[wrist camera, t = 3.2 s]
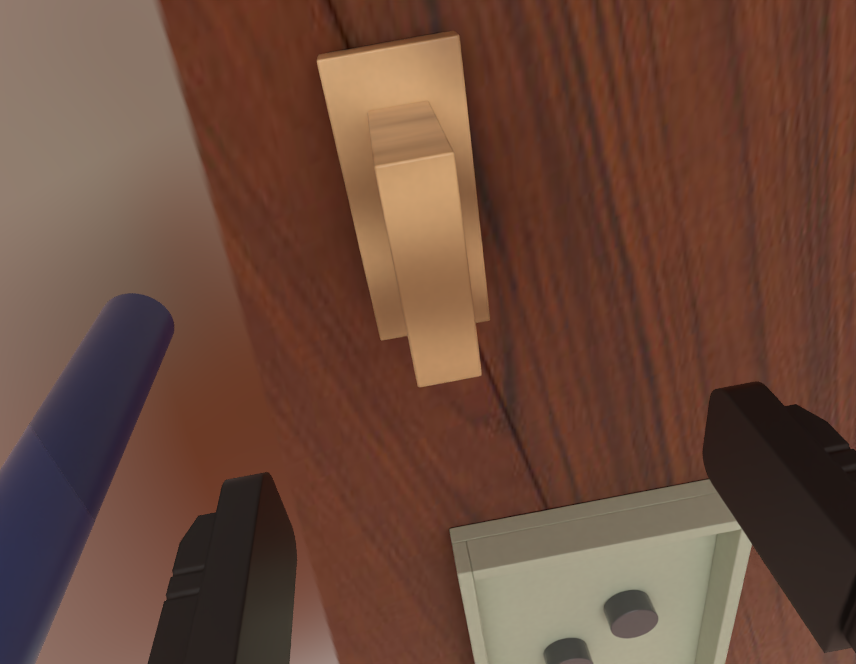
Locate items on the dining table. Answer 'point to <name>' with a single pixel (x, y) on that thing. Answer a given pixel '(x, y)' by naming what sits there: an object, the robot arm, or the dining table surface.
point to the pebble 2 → (630, 614)
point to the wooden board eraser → (413, 195)
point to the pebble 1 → (568, 652)
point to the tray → (605, 577)
